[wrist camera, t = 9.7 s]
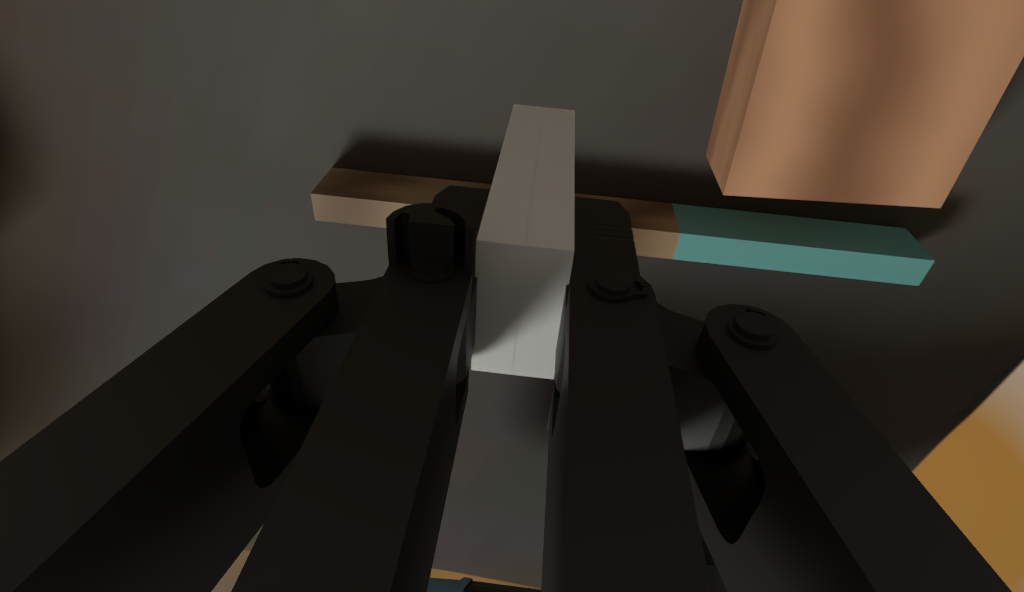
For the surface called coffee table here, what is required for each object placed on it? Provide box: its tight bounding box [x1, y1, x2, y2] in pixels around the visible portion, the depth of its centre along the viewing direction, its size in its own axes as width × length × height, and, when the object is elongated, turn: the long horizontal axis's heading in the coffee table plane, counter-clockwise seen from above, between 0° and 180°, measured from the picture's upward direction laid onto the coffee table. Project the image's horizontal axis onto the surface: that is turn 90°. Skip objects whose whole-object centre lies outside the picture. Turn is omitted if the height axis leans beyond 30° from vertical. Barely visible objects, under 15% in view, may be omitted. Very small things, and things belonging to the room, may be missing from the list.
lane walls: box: [311, 167, 680, 259], centre depth 23 cm, size 18×19×3 cm
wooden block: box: [706, 0, 1024, 208], centre depth 23 cm, size 9×9×4 cm
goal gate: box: [672, 203, 935, 286], centre depth 23 cm, size 12×19×3 cm, turn 176°
